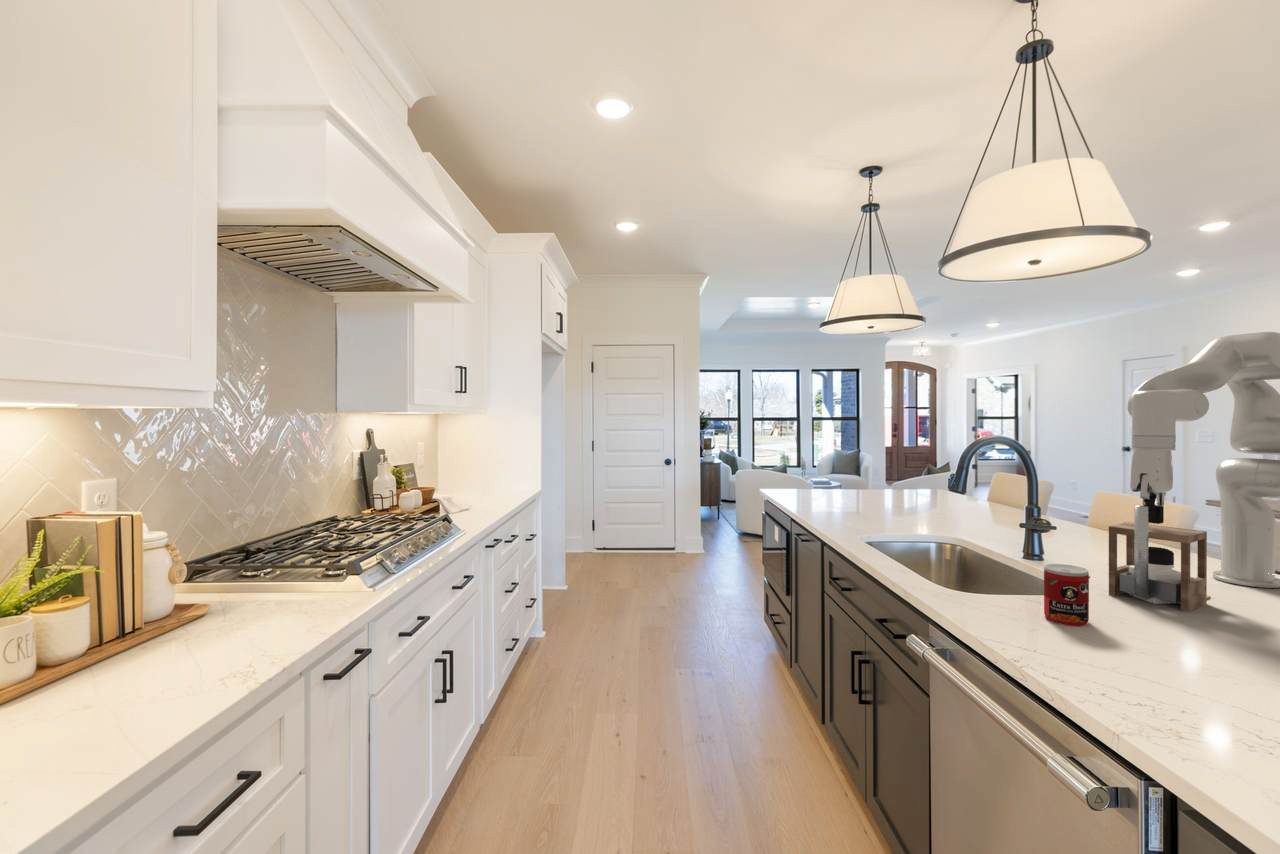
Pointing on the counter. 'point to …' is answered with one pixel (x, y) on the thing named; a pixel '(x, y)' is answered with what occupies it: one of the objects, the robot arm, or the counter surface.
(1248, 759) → the counter surface
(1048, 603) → the canned food
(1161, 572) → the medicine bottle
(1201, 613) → the counter surface
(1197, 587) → the walnut tunnel
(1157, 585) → the grey metal post stand
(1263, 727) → the counter surface
